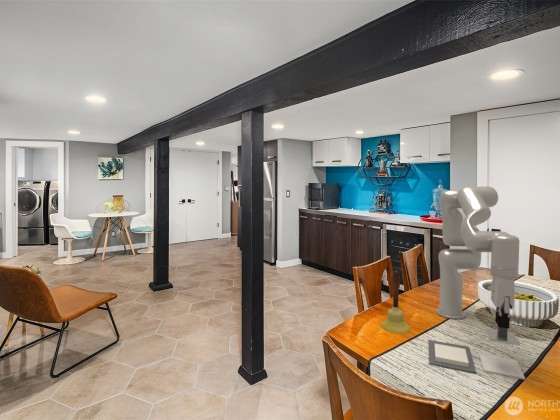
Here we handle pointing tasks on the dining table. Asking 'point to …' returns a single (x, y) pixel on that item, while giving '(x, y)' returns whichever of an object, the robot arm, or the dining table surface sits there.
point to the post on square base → (502, 335)
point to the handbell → (395, 311)
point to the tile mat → (451, 366)
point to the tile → (451, 355)
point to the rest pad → (501, 366)
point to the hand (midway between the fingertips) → (502, 325)
